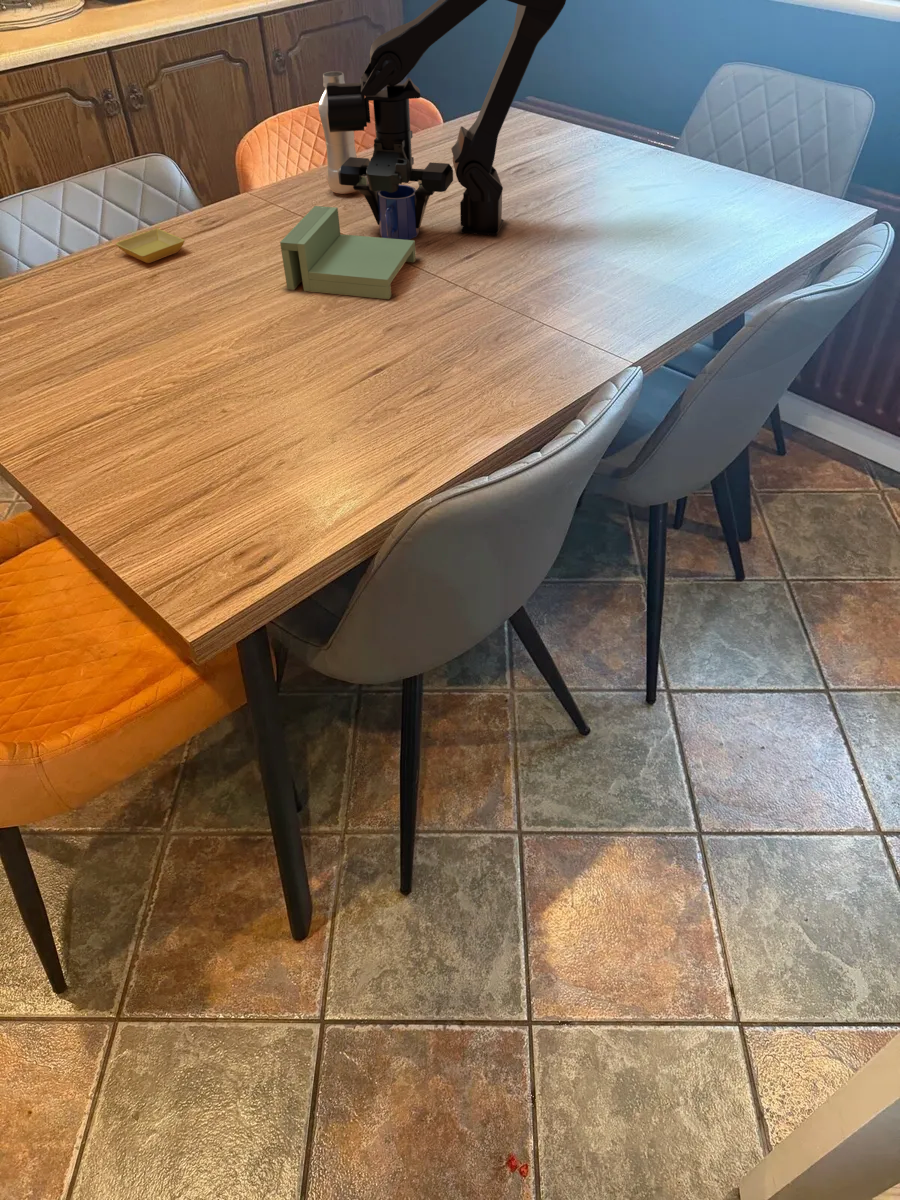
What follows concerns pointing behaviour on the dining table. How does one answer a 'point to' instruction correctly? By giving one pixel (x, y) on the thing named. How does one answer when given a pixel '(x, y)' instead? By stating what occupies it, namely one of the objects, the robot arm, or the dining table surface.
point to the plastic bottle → (335, 139)
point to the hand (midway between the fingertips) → (399, 225)
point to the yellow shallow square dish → (151, 245)
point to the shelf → (341, 258)
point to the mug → (398, 213)
